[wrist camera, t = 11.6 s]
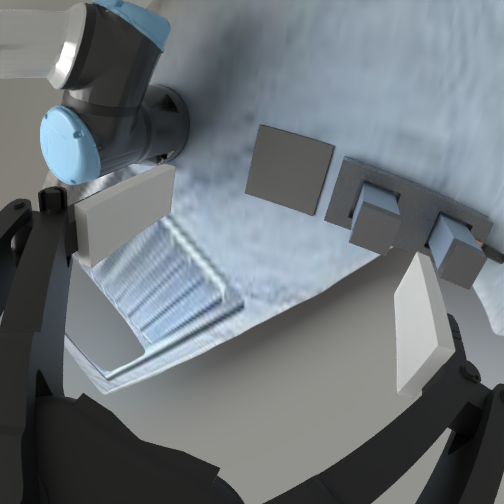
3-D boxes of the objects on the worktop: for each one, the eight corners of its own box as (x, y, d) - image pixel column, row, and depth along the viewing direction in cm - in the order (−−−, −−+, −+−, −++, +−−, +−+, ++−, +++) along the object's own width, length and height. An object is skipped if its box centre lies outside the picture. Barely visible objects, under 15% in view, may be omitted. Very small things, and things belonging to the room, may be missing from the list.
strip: (326, 213, 50) (323, 221, 47) (344, 156, 45) (343, 160, 42) (486, 278, 44) (492, 289, 41) (512, 230, 39) (520, 239, 36)
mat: (245, 192, 53) (245, 193, 53) (260, 124, 47) (259, 124, 47) (313, 215, 51) (312, 216, 51) (333, 145, 45) (333, 146, 45)
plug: (353, 210, 47) (349, 242, 37) (364, 181, 45) (362, 205, 35) (383, 221, 46) (385, 256, 36) (394, 193, 44) (401, 220, 34)
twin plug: (427, 239, 45) (440, 277, 35) (439, 211, 42) (457, 244, 32) (451, 250, 44) (469, 289, 34) (464, 223, 41) (487, 258, 31)
